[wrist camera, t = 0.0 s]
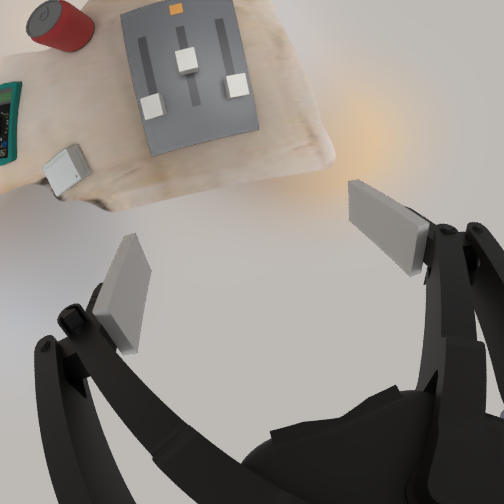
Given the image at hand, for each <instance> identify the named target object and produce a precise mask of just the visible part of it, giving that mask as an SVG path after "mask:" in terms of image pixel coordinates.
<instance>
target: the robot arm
mask: <svg viewBox="0 0 504 504" xmlns="http://www.w3.org/2000/svg"><path fill="white" fill-rule="evenodd" d="M348 193H349V221H350V222H351V223H352V224H354V225H355V226H356V227H357V228H358V229H359V230H360V231H362V232H363V233H364V234H365V235H366V236H367V237H368V238H370V240H372V241H373V242H374V243H375V244H376V245H377V246H378V247H379V248H380V249H381V250H383V251H384V252H385V253H386V254H387V255H388V256H389V257H390V258H391V259H392V260H393V261H394V262H395V263H396V264H397V265H399V267H400V268H402V269H403V270H404V271H405V272H406V273H407V274H408V275H409V276H410V277H411V276H414V275H416V274H418V273H421V270H422V265H423V262H424V263H425V264H426V265H427V266H428V267H427V272H426V276H425V281H424V285H425V284H426V313H425V315H426V316H425V329H424V340H423V349H422V358H421V366H420V372H419V378H418V383H417V387H416V389H415V390H407V391H399V389H398V387H397V386H396V385H394V386H392V387H390V388H388V389H386V390H384V391H382V392H379V393H377V394H375V395H373V396H371V397H368V399H366V400H365V401H363V402H362V403H361V404H359V405H358V406H357V407H355V408H354V409H352V410H351V411H349V412H348V413H346V414H345V415H344V416H342V417H340V418H334V419H327V420H317V421H307V422H301V423H298V424H295V425H291V426H287V427H284V428H280V429H277V430H272V431H270V434H271V439H269V440H268V441H265V442H264V443H262V444H261V445H259V446H258V447H256V448H255V449H254V450H253V451H251V453H249V455H248V456H246V458H245V459H244V460H243V461H242V463H241V464H240V463H239V462H237V461H236V460H234V459H233V458H231V457H230V456H228V455H227V454H226V453H224V452H223V451H222V450H220V449H219V448H218V447H216V446H215V445H214V444H212V443H211V442H210V441H209V440H207V439H206V438H205V437H203V436H202V435H201V434H200V433H199V432H197V431H196V430H195V429H194V428H192V427H191V426H190V425H188V424H186V423H185V422H184V421H183V420H182V419H181V418H180V417H179V416H177V415H176V414H175V413H174V412H173V411H172V410H171V409H170V408H168V407H167V405H165V404H164V403H163V402H162V401H161V400H160V399H159V398H158V397H157V396H156V395H155V394H154V393H153V392H152V391H151V390H150V389H149V388H148V387H147V386H146V385H145V384H144V383H143V382H142V381H141V380H140V378H138V376H137V375H136V374H135V373H134V372H133V371H132V370H131V369H130V368H129V367H128V366H127V364H126V363H125V362H124V361H123V360H122V359H121V357H120V356H119V355H118V354H117V353H116V349H117V348H118V349H119V351H120V352H121V353H122V355H129V354H135V353H137V352H138V345H139V338H140V331H141V325H142V319H143V313H144V307H145V301H146V295H147V290H148V285H149V281H150V276H151V269H150V266H149V264H148V262H147V260H146V257H145V255H144V252H143V250H142V248H141V245H140V243H139V241H138V238H137V235H136V233H134V234H130V235H126V236H124V238H123V240H122V242H121V244H120V246H119V248H118V250H117V253H116V255H115V257H114V259H113V262H112V264H111V266H110V268H109V271H108V273H107V276H106V278H105V280H104V282H103V283H100V284H99V285H98V286H97V287H96V288H95V290H94V291H93V294H92V296H91V299H90V301H89V304H88V306H87V308H86V311H84V309H83V308H82V306H81V305H80V304H72V305H70V306H68V307H66V308H65V309H64V310H63V311H62V312H61V313H60V315H59V316H58V319H57V321H58V324H59V326H60V327H61V328H62V330H63V331H64V332H65V334H66V335H67V336H68V337H66V338H64V339H62V340H60V341H57V340H56V339H55V338H54V336H52V335H47V336H45V337H43V338H42V339H40V340H39V341H38V343H37V345H36V347H35V351H34V368H35V389H36V401H37V411H38V418H39V426H40V432H41V438H42V443H43V448H44V453H45V458H46V462H47V466H48V470H49V474H50V477H51V481H52V484H53V488H54V491H55V494H56V497H57V500H58V503H59V504H136V502H135V501H134V499H133V497H132V495H131V493H130V491H129V490H128V488H127V486H126V484H125V482H124V480H123V478H122V475H121V473H120V471H119V469H118V467H117V465H116V463H115V460H114V458H113V456H112V453H111V451H110V448H109V446H108V443H107V441H106V438H105V436H104V433H103V430H102V427H101V424H100V421H99V419H98V416H97V413H96V409H95V406H94V403H93V399H92V396H91V393H90V389H89V386H88V381H87V377H90V376H91V377H92V379H93V380H94V382H95V383H96V385H97V386H98V388H99V390H100V391H101V392H102V394H103V395H104V397H105V398H106V400H107V401H108V402H109V404H110V405H111V407H112V408H113V409H114V411H115V412H116V413H117V414H118V416H119V417H120V418H121V420H122V421H123V422H124V424H125V425H126V426H127V427H128V428H129V429H130V431H131V432H132V433H133V435H134V436H135V437H136V438H137V439H138V440H139V442H140V443H141V444H142V445H143V446H144V447H145V448H146V449H147V450H148V452H149V453H150V454H151V455H152V457H153V458H152V460H153V461H154V463H155V464H156V465H157V466H158V467H159V468H160V469H161V470H162V471H163V472H164V473H165V474H166V475H167V476H168V477H169V478H170V479H171V480H172V481H173V482H174V483H175V484H176V485H177V486H178V487H179V488H181V490H182V491H184V492H185V493H186V494H187V495H188V496H189V497H190V498H192V499H193V500H194V501H195V502H196V503H198V504H504V410H503V411H502V413H501V415H500V417H497V416H494V415H490V414H487V413H485V410H486V381H487V380H486V350H485V344H484V343H483V342H481V341H477V333H476V322H475V313H474V310H475V312H476V315H477V318H478V320H479V323H480V326H481V329H482V332H483V335H484V338H485V341H486V344H487V347H488V351H489V354H490V358H491V361H492V365H493V369H494V373H495V377H496V381H497V385H498V389H499V392H500V395H501V398H502V401H503V403H504V250H503V249H502V248H501V246H500V245H499V243H498V242H497V241H496V239H495V238H494V237H493V236H492V234H491V233H490V232H489V230H488V229H487V228H486V227H485V226H483V225H482V224H481V223H478V222H476V223H475V222H470V223H468V224H467V229H466V232H458V230H457V229H456V228H455V227H453V226H451V225H448V224H438V225H435V224H434V223H432V222H431V221H429V220H428V219H426V218H425V217H422V216H421V215H420V214H419V213H417V212H416V211H414V210H412V209H411V208H408V207H405V206H403V205H401V204H400V203H398V202H396V201H395V200H393V199H391V198H390V197H388V196H386V195H385V194H383V193H381V192H379V191H378V190H376V189H374V188H373V187H371V186H369V185H367V184H366V183H364V182H362V181H360V180H353V181H348ZM479 265H480V266H479Z"/></svg>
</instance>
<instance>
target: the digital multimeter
mask: <svg viewBox="0 0 504 504" xmlns="http://www.w3.org/2000/svg"><path fill="white" fill-rule="evenodd" d="M21 86H22V82H10V83H5V84H1V85H0V166H1V165H5V164H7V163H9V162H12V161H14V160H16V158H17V150H16V132H17V115H18V105H19V98H20V92H21ZM9 117H10V118H9ZM8 135H9V137H8Z"/></svg>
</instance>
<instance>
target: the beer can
mask: <svg viewBox="0 0 504 504" xmlns="http://www.w3.org/2000/svg"><path fill="white" fill-rule="evenodd" d="M93 31H94V22H93V21H92V19H91V18H89V17H88V16H87V15H85V14H84V13H83V12H81V11H80V10H78V9H77V8H76V7H74V6H73V5H71V4H70V3H68V2H66V1H63V0H49V1H46V2H44V3H43V4H41V5H40V6H39V7H37V8H36V9H35V10H34V12H33V13H32V14H31V16H30V17H29V20H28V21H27V25H26V32H27V34H28V36H30V37H31V39H32V40H33V41H35V42H37V43H39V44H43V45H46V46H49V47H52V48H56V49H59V50H62V51H65V52H73V51H76V50H78V49H80V48H82V47H83V46H84V45H85V44H86V43H87V42H88V41H89V40H90V38H91V36H92V34H93Z"/></svg>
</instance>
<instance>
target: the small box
mask: <svg viewBox="0 0 504 504" xmlns="http://www.w3.org/2000/svg"><path fill="white" fill-rule="evenodd" d="M42 169H43V171H44V173H45V175H46V177H47V179H48V181H49V183H50V185H51V187H52V189H53V191H54V192H55V194H56V196H59V195H61V194H62V193H64V192H65V191H67V190H68V189H69V188H71V187H72V186H74V185H75V184H77V183H78V182H79V181H81V180H82V179H84V178H85V177H86V176H88V175H89V174H90V173H92V171H91V169H90V167H89V165H88V163H87V161H86V159H85V157H84V155H83V153H82V151H81V149H80V147H79V144H76V145H74V146H71V147H69V148H66V149H64V150H63V151H61V152H60V153H59V154H57V155H56V156H55V157H54V158H52V159H51V160H50V161H49V162H48V163H46V164H45V165H44V166H43V167H42Z"/></svg>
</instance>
